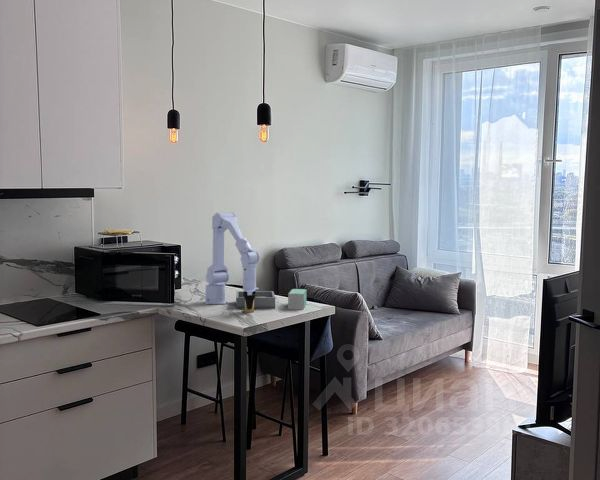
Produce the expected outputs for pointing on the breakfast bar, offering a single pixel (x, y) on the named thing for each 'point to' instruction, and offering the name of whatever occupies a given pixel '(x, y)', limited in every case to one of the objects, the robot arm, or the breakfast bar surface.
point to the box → (297, 299)
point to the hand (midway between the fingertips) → (249, 308)
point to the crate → (257, 299)
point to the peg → (249, 309)
